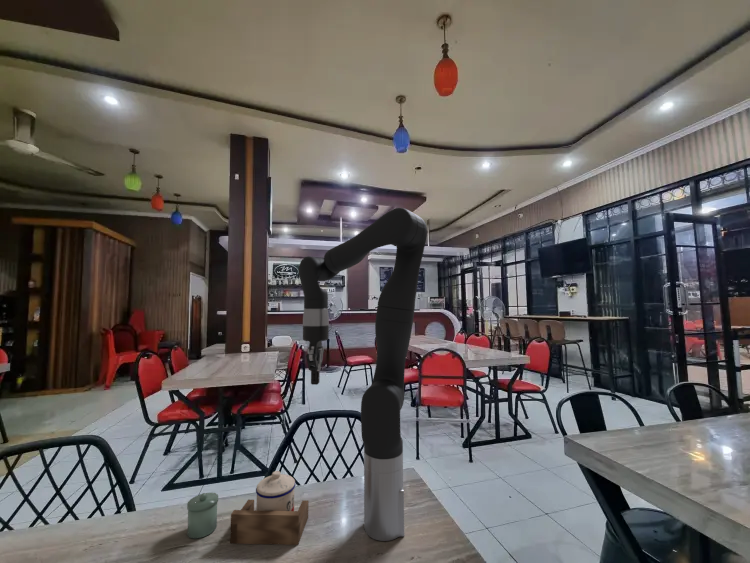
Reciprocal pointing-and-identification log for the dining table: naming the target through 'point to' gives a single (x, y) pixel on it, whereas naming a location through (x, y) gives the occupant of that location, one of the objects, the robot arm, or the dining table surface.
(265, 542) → the walnut cup holder
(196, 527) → the green ceramic sugar pot
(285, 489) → the teacup with lid
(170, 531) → the dining table surface
